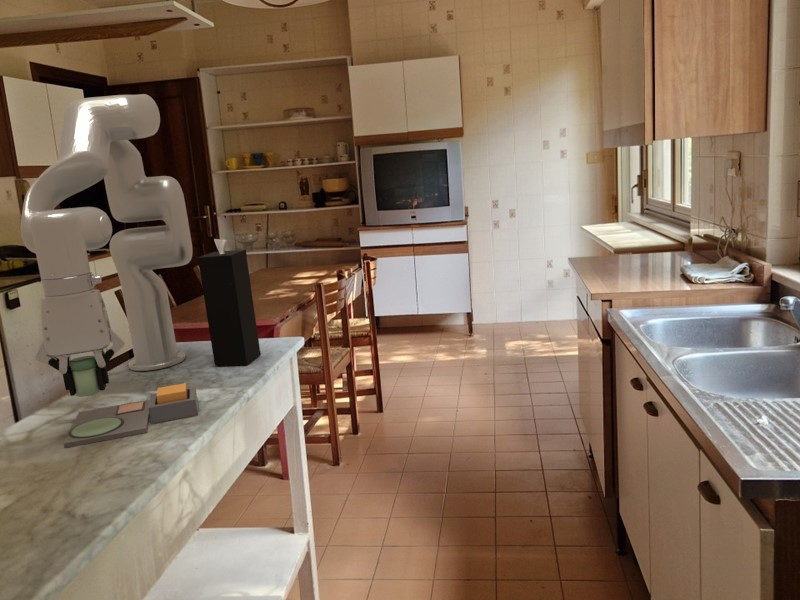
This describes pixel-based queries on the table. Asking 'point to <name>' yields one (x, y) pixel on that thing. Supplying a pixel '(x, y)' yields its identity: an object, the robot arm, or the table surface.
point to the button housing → (173, 408)
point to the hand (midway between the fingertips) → (88, 389)
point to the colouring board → (109, 423)
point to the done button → (172, 393)
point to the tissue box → (229, 306)
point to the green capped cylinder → (84, 375)
